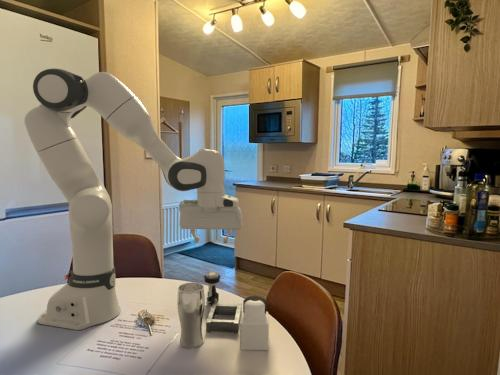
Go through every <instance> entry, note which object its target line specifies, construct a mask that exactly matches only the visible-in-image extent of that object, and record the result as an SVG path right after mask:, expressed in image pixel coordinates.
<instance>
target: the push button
mask: <svg viewBox="0 0 500 375" xmlns="http://www.w3.org/2000/svg"><path fill="white" fill-rule="evenodd" d="M203 279H204V282H205V283H206V284H207V285H208V291H207V296H206V302H205V303H206V305H205V307H207V308H208V307H209V306H210V307H212V305H213V303H217V304H218V302H219V299H220V298H219V295H220V294H219V292H217V284H218V283H219V282H220V280H221V275H220V274H218V272H216V271H208V272H207V273H206V274H205V275H204V276H203Z"/></svg>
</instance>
